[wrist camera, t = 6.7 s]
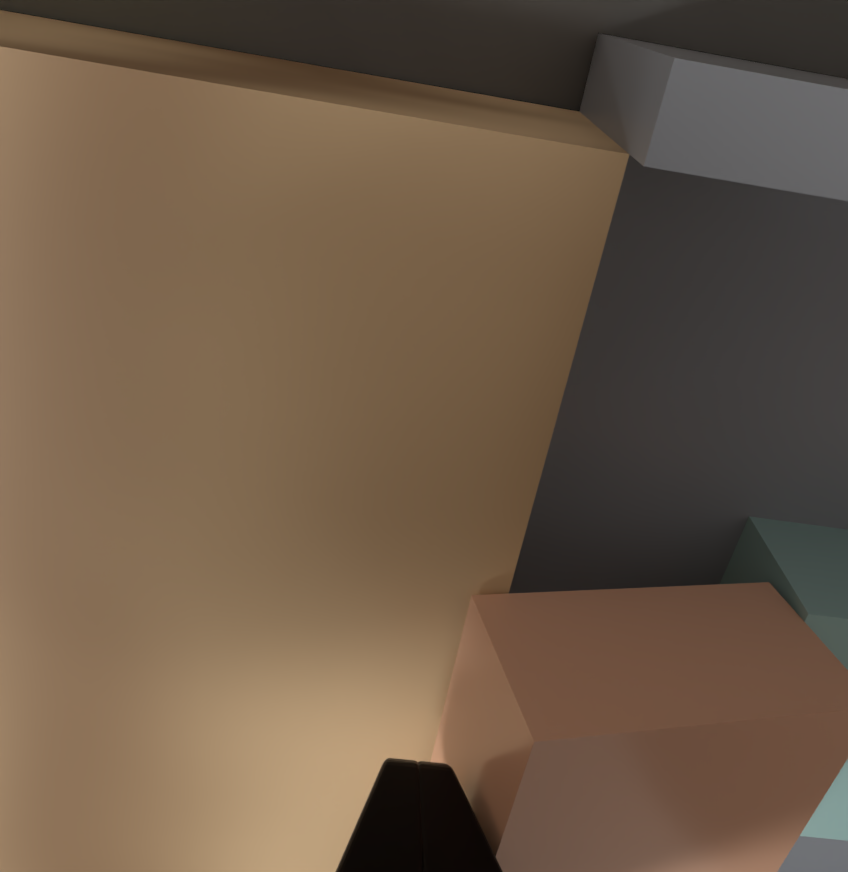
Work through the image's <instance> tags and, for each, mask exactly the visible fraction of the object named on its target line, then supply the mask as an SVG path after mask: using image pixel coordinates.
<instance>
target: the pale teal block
mask: <svg viewBox="0 0 848 872" xmlns="http://www.w3.org/2000/svg"><path fill="white" fill-rule="evenodd" d="M760 582H770V584H771V585H772V586H773V587H774V588H775V589H776V590H777V591H778V593H779V594H780V595H781V596H782V597H783V598H784V599H785V600H786V602H787V603H788V604H789V605H790V606H791V607H792V608H793V609H794V611H795V612H796V613H797V614H798V615H799V616H800V617H801V618H802V620H803V621H804V622H805V623H806V624H807V625H808V626H809V627H810V628H811V630H812V631H813V632H814V633H815V634H816V635H817V636H818V637H819V639H820V640H821V641H822V642H823V643H824V644H825V645H826V646H827V648H828V649H829V650H830V651H831V652H832V653H833V654H834V655H835V657H836V658H837V659H838V660H839V661H840V662H841V663H842V664H843V666H844V667H845V668H846V669H847V670H848V530H847V529H839V528H832V527H825V526H817V525H810V524H802V523H795V522H787V521H780V520H772V519H765V518H757V517H750V516H749V518H748V520H747V522H746V525H745V527H744V529H743V532H742V534H741V536H740V538H739V541H738V543H737V545H736V548H735V550H734V552H733V555H732V557H731V559H730V561H729V564H728V566H727V568H726V571H725V573H724V575H723V577H722V580H721V582H720V584H737V583H760ZM800 836H806V837H816V838H826V839H836V840H845V841H848V759H847V761H846V762H845V764H844V765H843V767H842V769H841V770H840V772H839V773H838V775H837V777H836V778H835V780H834V781H833V783H832V785H831V786H830V788H829V789H828V791H827V793H826V794H825V796H824V797H823V799H822V801H821V802H820V804H819V805H818V807H817V809H816V810H815V812H814V813H813V815H812V817H811V818H810V820H809V822H808V823H807V825H806V826H805V828H804V830H803V831H802V833H801V834H800Z"/></svg>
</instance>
